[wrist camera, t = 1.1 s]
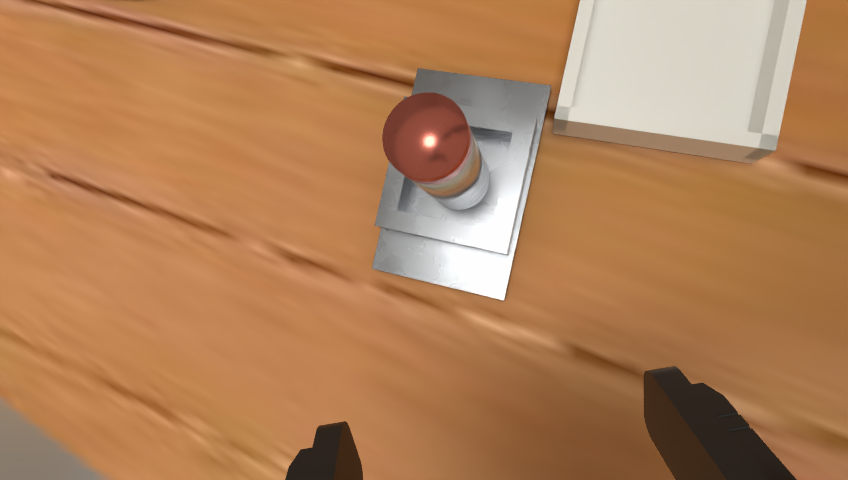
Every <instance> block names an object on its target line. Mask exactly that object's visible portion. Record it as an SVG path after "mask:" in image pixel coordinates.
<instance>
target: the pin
mask: <svg viewBox="0 0 848 480" xmlns="http://www.w3.org/2000/svg"><path fill="white" fill-rule="evenodd" d="M382 140H383V147H384V151H385V154H386V156H387V158H388V160H389V162H390V163H391V164H392V165H393V166H394V168H395V169H397V170H398V171H399V172H401V173H402V174H403V175H404V176H406V177H407V178H408V179H409V180H411V181H412V182H413V183H415V184H416V185H417V186H418V187H420V188H421V189H422V190H424V191H425V192H426V193H427V194H429V195H430V196H431V197H432V198H434V199H435V200H436V201H438V202H439V203H440V204H441V205H443V206H445V207H447V208H450V209H454V210H463V209H467V208H470V207H472V206H474V205H476V204H477V203H478V202H479V201H480V200H481V199H482V198H483V197H484V196H485V194H486V192H487V190H488V187H489V182H490V175H489V170H488V167H487V165H486V163H485V161H484V158H483V156H482V154H481V151H480V149H479V147H478V145H477V142H476V140H475V138H474V136H473V133H472V131H471V129H470V127H469V124H468V122H467V120H466V118H465V115H464V113H463V112H462V110H461V109H460V107H459V106H458V105H457V104H456V103H455V102H454V101H453V100H451V99H450V98H448V97H446V96H444V95H441V94H438V93H431V92H426V93H419V94H415V95H412V96H410V97H408V98H406V99H404V100H403V101H401V102H400V103H399V104H398V105H397V106H396V107H395V108H394V109H393V110H392V112H391V113H390V115H389V116H388V118H387V120H386V123H385V126H384V129H383V139H382Z"/></svg>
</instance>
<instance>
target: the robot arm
mask: <svg viewBox="0 0 848 480" xmlns="http://www.w3.org/2000/svg"><path fill="white" fill-rule="evenodd" d="M644 417H645V423H646V426H647V429H648V432H649V435H650V437H651V439H652V441H653V442H654V444H655V446H656V447H657V449H658V451H659V452H660V454H661V456H662V457H663V459H664V461H665V462H666V464H667V466H668V467H669V469H670V471H671V472H672V474H673V476H674V477H675V479H676V480H796V479H795V477H794V476H793V475H792V474H791V473H790V472H789V471H788V469H787V468H786V467H785V466H784V465H783V464H782V463H781V461H780V460H779V459H778V458H777V457H776V456H775V454H774V453H773V452H772V451H771V450H770V449H769V448H768V446H767V445H766V444H765V443H764V442H763V441H762V439H761V438H760V437H759V436H758V435H757V434H756V433H755V431H754V430H753V429H750V427H749V425H748V423H747V422H746V421H745V420H744V419H743V418H742V416H741V415H738V413H737V411H736V410H735V408H734V407H733V406H732V405H731V404H730V403H729V402H728V400H727V399H726V398H725V397H724V396H723V395H722V394H720V393H719V392H717V391H715V390H714V389H712V388H710V387H709V386H707V385H706V384H704V383H698V384H691V383H690V382H689V381H688V379H687V378H686V377H685V376H684V374H683V373H682V372H681V371H680V370H679V369H678V368H677V367H675V366H672V367H666V368H660V369H654V370H649V371H645V373H644ZM285 480H363V472H362V465H361V461H360V458H359V455H358V452H357V449H356V446H355V443H354V440H353V437H352V434H351V431H350V428H349V425H348V423H347V422H339V423H333V424H327V425H321V426H319V427H318V428H317V431H316V435H315V439H314V443H313V448H307V449H301V450H300V452H299V453H298V454H297V456H296V457H295V459H294V460H293V462H292V463H291V465H290V466H289V468H288V472H287V476H286V479H285Z"/></svg>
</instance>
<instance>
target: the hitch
mask: <svg viewBox="0 0 848 480" xmlns="http://www.w3.org/2000/svg"><path fill="white" fill-rule="evenodd" d="M426 92H431V93H438V94H441V95H444V96H446V97H448V98H450V99H451V100H453V101H454V102H455V103H456V104H457V105H458V106H459V107H460V109H461V110H462V112H463V113H464V115H465V118H466V120H467V122H468V124H469V127H470V129H471V131H472V133H473V136H474V138H475V140H476V142H477V145H478V147H479V149H480V151H481V154H482V156H483V158H484V161H485V163H486V165H487V167H488V170H489V175H490V182H489V187H488V190H487V192H486V194H485V196H484V197H483V198H482V199H481V200H480V201H479V202H478V203H477V204H476V205H474V206H472V207H470V208H467V209H463V210H454V209H450V208H447V207H445V206H443V205H441V204H440V203H439V202H438V201H436V200H435V199H434V198H432V197H431V196H430V195H429V194H427V193H426V192H425V191H424V190H422V189H421V188H420V187H418V186H417V185H416V184H415V183H413V182H412V181H411V180H409V179H408V178H407V177H406V176H404V175H403V174H402V173H401V172H399V171H398V170H397V169H395V168H394V166H393V165H392V164H391V163H390V162H389V165H388V170H387V174H386V178H385V183H384V187H383V192H382V196H381V200H380V205H379V209H378V213H377V218H376V222H375V226H378V227H381V232H380V236H379V240H378V245H377V249H376V253H375V258H374V262H373V266H372V269H376V270H380V271H384V272H388V273H392V274H397V275H401V276H405V277H409V278H413V279H417V280H422V281H426V282H430V283H434V284H438V285H442V286H446V287H451V288H455V289H459V290H463V291H467V292H471V293H476V294H480V295H484V296H488V297H492V298H496V299H500V300H505V296H506V291H507V287H508V282H509V278H510V273H511V269H512V264H513V260H514V255H515V251H516V246H517V242H518V237H519V233H520V228H521V223H522V219H523V214H524V210H525V205H526V201H527V196H528V192H529V187H530V183H531V178H532V174H533V169H534V165H535V160H536V156H537V151H538V146H539V142H540V137H541V133H542V128H543V124H544V119H545V115H546V110H547V106H548V101H549V97H550V92H551V86H550V85H543V84H535V83H527V82H519V81H512V80H504V79H496V78H488V77H480V76H473V75H465V74H457V73H449V72H442V71H434V70H426V69H418V70H417V75H416V79H415V83H414V88H413V92H412V95H415V94H419V93H426ZM406 98H408V97H404V99H406Z"/></svg>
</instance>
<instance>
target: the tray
mask: <svg viewBox="0 0 848 480" xmlns="http://www.w3.org/2000/svg"><path fill="white" fill-rule="evenodd" d="M806 1H807V0H580V3H579V8H578V13H577V17H576V22H575V26H574V31H573V35H572V40H571V44H570V49H569V53H568V58H567V62H566V67H565V72H564V76H563V81H562V85H561V90H560V94H559V99H558V103H557V108H556V112H555V117H554V125H553V134H559V135H566V136H572V137H579V138H585V139H592V140H598V141H605V142H612V143H618V144H625V145H631V146H638V147H644V148H651V149H657V150H664V151H671V152H677V153H684V154H690V155H697V156H703V157H710V158H716V159H723V160H730V161H736V162H743V163H749V164H752V163H754V162H756V161H757V160H759V159H761V158H763V157H765V156H767V155H769V154H770V153H772V152H774V151H776V147H777V142H778V137H779V132H780V128H781V123H782V118H783V113H784V108H785V103H786V98H787V94H788V89H789V84H790V79H791V74H792V69H793V64H794V60H795V55H796V50H797V45H798V40H799V35H800V30H801V26H802V21H803V16H804V11H805V6H806Z"/></svg>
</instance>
